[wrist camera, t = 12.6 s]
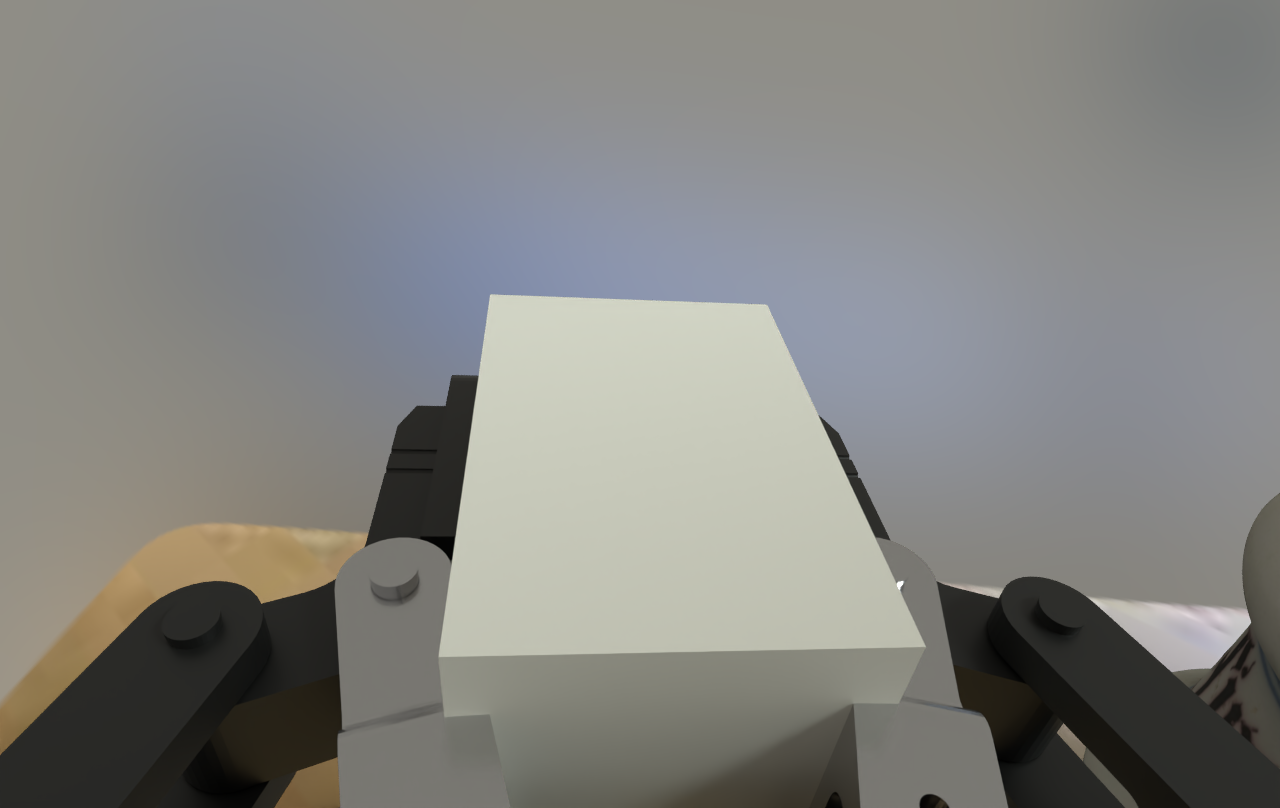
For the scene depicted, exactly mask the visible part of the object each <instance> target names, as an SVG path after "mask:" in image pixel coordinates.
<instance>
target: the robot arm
mask: <svg viewBox="0 0 1280 808" xmlns="http://www.w3.org/2000/svg"><path fill="white" fill-rule="evenodd" d="M478 377H479V376H470V375H469V376H468V375H452V377H451V381H450V387H449V391H448V396H447V401H446V406H416V407H415V409H413V411H412V412H411V413H410V414H409V415H408V416H407V417H406V418H405V419H404V420H403V421H402V422H401V423H400V424H399V425H398V427H397V431H396V434H395V438H394V442H393V445H392V452H391V454H390V457H389V460H388V464H387V467H386V473H385V475H384V479H383V482H382V486H381V490H380V493H379V497H378V501H377V504H376V508H375V512H374V515H373V519H372V523H371V527H370V530H369V534H368V538H367V541H366V545H365V547H364V548H363V549H361V550H359V551H358V552H357V553H355V554H354V555H353V556H351V557H350V558H349V559H348V560H347V561H346V562H345V564H344V565H343V566H342V567H341V569H340V571H339V573H338V575H337V578H336V579H335V580H333V581H332V582H330V583H328V584H326V585H324V586H322V587H319V588H317V589H314V590H311V591H308V592H305V593H301V594H298V595H294V596H290V597H286V598H282V599H278V600H274V601H270V602H267V603H263V604H261V602H260V601H259V599H258V597H257V596H256V595H255V594H254V593H253V592H252V591H251V590H249V589H248V588H246V587H244V586H242V585H239V584H236V583H231V582H224V581H212V582H203V583H197V584H193V585H190V586H186V587H183V588H180V589H178V590H176V591H173V592H171V593H169V594H167V595H165V596H164V597H162V598H160V599H158V600H157V601H156V602H154V603H153V604H151V605H150V606H149V607H148V608H147V609H145V610H144V611H143V612H142V613H141V614H140V615H139V616H138V617H137V618H136V619H135V620H134V621H133V622H132V623H131V624H130V625H129V626H128V627H127V628H126V629H125V630H124V631H123V632H122V633H121V634H120V635H119V636H118V637H117V638H116V639H115V640H114V641H113V642H112V643H111V644H110V645H109V646H108V647H107V648H106V649H105V650H104V651H103V652H102V653H101V654H100V655H99V656H98V657H97V658H96V659H95V660H94V661H93V662H92V663H91V664H90V665H89V666H88V667H87V668H86V669H85V670H84V671H83V672H82V673H81V674H80V675H79V676H78V677H77V678H76V679H75V680H74V681H73V682H72V683H71V684H70V685H69V686H68V687H67V688H66V689H65V690H64V691H63V692H62V693H61V694H60V696H59V697H58V698H57V699H56V700H55V701H54V702H53V703H52V704H51V705H50V706H49V707H48V708H47V709H46V710H45V711H44V712H43V713H42V714H41V715H40V716H39V717H38V718H37V719H36V720H35V721H34V722H33V723H32V724H31V725H30V726H29V727H28V728H27V729H26V730H25V731H24V732H23V733H22V734H21V735H20V736H19V737H18V738H17V739H16V740H15V741H14V742H13V743H12V744H11V745H10V746H9V747H8V748H7V749H6V750H5V751H4V752H3V753H2V754H1V755H0V808H274V807H275V805H276V804H277V802H278V801H279V799H280V797H281V796H282V794H283V793H284V791H285V790H286V788H287V786H288V785H289V783H290V782H291V780H292V779H293V777H294V775H295V773H296V772H297V771H298V770H301V769H304V768H307V767H310V766H313V765H316V764H319V763H322V762H325V761H328V760H331V759H334V758H336V757H338V771H339V790H340V808H510V803H509V799H508V794H507V790H506V785H505V781H504V776H503V772H502V767H501V763H500V758H499V754H498V749H497V745H496V740H495V736H494V731H493V727H492V722H491V718H490V714H486V715H470V716H455V717H444V708H443V698H442V688H441V678H440V668H439V658H438V656H439V649H440V642H441V635H442V628H443V621H444V614H445V607H446V600H447V593H448V586H449V580H450V573H451V566H452V559H453V552H454V545H455V538H456V531H457V524H458V517H459V510H460V503H461V496H462V489H463V482H464V475H465V468H466V461H467V454H468V447H469V440H470V433H471V426H472V419H473V412H474V405H475V398H476V391H477V384H478ZM818 416H819V415H818ZM819 418H820V420H821V422H822V424H823V427H824V429H825V431H826V433H827V435H828V437H829V439H830V442H831V444H832V446H833V448H834V450H835V452H836V455H837V457H838V459H839V461H840V463H841V465H842V467H843V470H844V472H845V474H846V476H847V478H848V480H849V483H850V485H851V487H852V489H853V491H854V493H855V495H856V498H857V500H858V502H859V504H860V506H861V508H862V510H863V513H864V515H865V517H866V519H867V521H868V523H869V526H870V528H871V530H872V532H873V534H874V536H875V538H876V541H877V543H878V545H879V547H880V549H881V551H882V554H883V556H884V558H885V560H886V562H887V564H888V566H889V569H890V571H891V573H892V575H893V577H894V579H895V581H896V584H897V586H898V588H899V590H900V592H901V594H902V597H903V599H904V601H905V603H906V605H907V607H908V609H909V612H910V614H911V616H912V618H913V620H914V622H915V625H916V627H917V629H918V631H919V633H920V635H921V637H922V640H923V642H924V644H925V646H926V648H925V650H924V652H923V654H922V656H921V658H920V660H919V662H918V665H917V667H916V669H915V671H914V673H913V675H912V677H911V679H910V681H909V683H908V685H907V687H906V689H905V692H904V694H903V696H902V698H901V700H900V702H899V704H873V703H853V706H852V708H851V710H850V713H849V715H848V718H847V720H846V722H845V725H844V727H843V729H842V732H841V734H840V736H839V739H838V741H837V743H836V746H835V748H834V751H833V753H832V755H831V758H830V760H829V762H828V765H827V767H826V769H825V772H824V774H823V776H822V779H821V781H820V784H819V786H818V788H817V791H816V793H815V795H814V798H813V800H812V802H811V805H810V807H809V808H1125V807H1124V806H1123V805H1122V804H1121V803H1120V801H1119V800H1118V799H1117V798H1116V797H1115V796H1114V795H1113V794H1112V793H1111V792H1110V791H1109V790H1108V788H1107V787H1106V786H1105V785H1104V784H1103V783H1102V782H1101V781H1100V780H1099V779H1098V778H1097V776H1096V775H1095V774H1094V773H1093V772H1092V771H1091V770H1090V769H1089V768H1088V767H1087V766H1086V764H1085V763H1084V762H1083V761H1082V760H1081V759H1080V758H1079V757H1078V756H1077V755H1076V754H1075V753H1074V751H1073V750H1072V749H1071V748H1070V747H1069V746H1068V745H1067V744H1066V743H1065V742H1064V741H1063V739H1062V738H1061V737H1060V736H1059V735H1058V734H1057V731H1058V730H1059V729H1060V727H1061V726H1062V724H1063V723H1064V724H1065V725H1066V726H1067V727H1068V728H1069V729H1070V730H1071V731H1072V732H1073V734H1074V735H1075V736H1076V737H1077V738H1078V739H1079V740H1080V741H1081V742H1082V743H1083V744H1084V745H1085V746H1086V747H1087V748H1088V750H1089V751H1090V752H1091V753H1092V754H1093V755H1094V756H1095V757H1096V758H1097V759H1098V760H1099V761H1100V762H1101V763H1102V764H1103V766H1104V767H1105V768H1106V769H1107V770H1108V771H1109V772H1110V773H1111V774H1112V775H1113V776H1114V777H1115V778H1116V779H1117V780H1118V782H1119V783H1120V784H1121V785H1122V786H1123V787H1124V788H1125V789H1126V790H1127V791H1128V792H1129V794H1130V795H1131V796H1132V798H1133V799H1134V800H1135V802H1136V804H1137V806H1138V808H1280V769H1279V768H1278V767H1277V766H1276V765H1275V764H1273V763H1272V762H1271V761H1270V760H1269V759H1268V758H1267V757H1266V756H1265V755H1263V754H1262V753H1261V752H1260V751H1259V750H1258V749H1257V748H1256V747H1254V746H1253V745H1252V744H1251V743H1250V742H1249V741H1248V740H1247V739H1246V738H1244V737H1243V736H1242V735H1241V734H1240V733H1239V732H1238V731H1237V730H1235V729H1234V728H1233V727H1232V726H1231V725H1230V724H1229V723H1228V722H1227V721H1225V720H1224V719H1223V718H1222V717H1221V716H1220V715H1219V714H1218V713H1216V712H1215V711H1214V710H1213V709H1212V708H1211V707H1210V706H1209V705H1208V704H1206V703H1205V702H1204V701H1203V700H1202V699H1201V698H1200V697H1199V696H1197V695H1196V694H1195V693H1194V692H1193V691H1192V690H1191V689H1190V688H1189V687H1187V686H1186V685H1185V684H1184V683H1183V682H1182V681H1181V680H1180V679H1178V678H1177V677H1176V676H1175V675H1174V674H1173V673H1172V672H1171V671H1170V670H1168V669H1167V668H1166V667H1165V666H1164V665H1163V664H1162V663H1161V662H1159V661H1158V660H1157V659H1156V658H1155V657H1154V656H1153V655H1152V654H1151V653H1149V652H1148V651H1147V650H1146V649H1145V648H1144V647H1143V646H1142V645H1140V644H1139V643H1138V642H1137V641H1136V640H1135V639H1134V638H1133V637H1132V636H1130V635H1129V634H1128V633H1127V632H1126V631H1125V630H1124V629H1123V628H1122V627H1120V626H1119V625H1118V624H1117V623H1116V622H1115V621H1114V620H1113V619H1111V618H1110V617H1109V616H1108V615H1107V614H1106V613H1105V612H1104V611H1103V610H1101V609H1100V608H1099V607H1098V606H1097V605H1096V604H1095V603H1093V602H1092V601H1091V600H1090V599H1089V598H1087V597H1086V596H1084V595H1083V594H1081V593H1080V592H1078V591H1077V590H1075V589H1073V588H1071V587H1069V586H1067V585H1065V584H1062V583H1060V582H1057V581H1054V580H1051V579H1046V578H1041V577H1022V578H1018V579H1015V580H1013V581H1011V582H1010V583H1009V584H1007V585H1006V587H1005V588H1004V590H1003V592H1002V593H1001V595H1000V597H999V599H998V598H994V597H990V596H986V595H982V594H978V593H974V592H970V591H966V590H962V589H958V588H954V587H951V586H948V585H944V584H942V583H939V582H937V581H936V579H935V576H934V575H933V573H932V571H931V569H930V568H929V567H928V565H927V564H926V563H925V562H924V561H923V560H922V559H921V558H920V557H919V556H918V555H916V554H915V553H914V552H912V551H911V550H909V549H908V548H906V547H904V546H902V545H900V544H898V543H895V542H892V541H891V540H890V539H889V536H888V534H887V532H886V530H885V528H884V526H883V524H882V522H881V520H880V518H879V516H878V514H877V511H876V509H875V507H874V505H873V504H872V501H871V499H870V497H869V495H868V493H867V491H866V489H865V487H864V485H863V483H862V480H861V479H860V478H858V472H857V470H856V468H855V466H854V464H853V462H852V460H849V454H848V452H847V449H846V447H845V445H844V443H843V441H842V439H841V437H840V435H839V433H838V432H837V431H835V430H834V429H833V428H832V427H831V426H830V425H829V424H828V423H827V422H826V421H825V420H823V419H822V418H821V417H820V416H819Z"/></svg>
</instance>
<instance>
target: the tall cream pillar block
mask: <svg viewBox="0 0 1280 808" xmlns="http://www.w3.org/2000/svg"><path fill="white" fill-rule="evenodd" d="M925 648H926V646H925V644H924V642H923V640H922V637H921V635H920V633H919V631H918V629H917V627H916V625H915V622H914V620H913V618H912V616H911V614H910V612H909V609H908V607H907V605H906V603H905V601H904V599H903V597H902V594H901V592H900V590H899V588H898V586H897V584H896V581H895V579H894V577H893V575H892V573H891V571H890V569H889V566H888V564H887V562H886V560H885V558H884V556H883V554H882V551H881V549H880V547H879V545H878V543H877V541H876V538H875V536H874V534H873V532H872V530H871V528H870V526H869V523H868V521H867V519H866V517H865V515H864V513H863V510H862V508H861V506H860V504H859V502H858V500H857V498H856V495H855V493H854V491H853V489H852V487H851V485H850V483H849V480H848V478H847V476H846V474H845V472H844V470H843V467H842V465H841V463H840V461H839V459H838V457H837V455H836V452H835V450H834V448H833V446H832V444H831V442H830V439H829V437H828V435H827V433H826V431H825V429H824V427H823V424H822V422H821V420H820V418H819V416H818V414H817V411H816V409H815V407H814V405H813V403H812V401H811V399H810V396H809V394H808V392H807V390H806V388H805V386H804V384H803V381H802V379H801V377H800V375H799V373H798V371H797V368H796V366H795V364H794V362H793V360H792V358H791V356H790V353H789V351H788V349H787V347H786V345H785V343H784V341H783V338H782V336H781V334H780V332H779V330H778V328H777V325H776V323H775V321H774V319H773V317H772V315H771V313H770V310H769V308H768V306H767V305H758V304H731V303H705V302H677V301H651V300H623V299H597V298H596V299H595V298H570V297H569V298H568V297H543V296H516V295H490V301H489V308H488V315H487V322H486V329H485V336H484V343H483V350H482V357H481V364H480V370H479V377H478V384H477V391H476V398H475V405H474V412H473V419H472V426H471V433H470V440H469V447H468V454H467V461H466V468H465V475H464V482H463V489H462V496H461V503H460V510H459V517H458V524H457V531H456V538H455V545H454V552H453V559H452V566H451V573H450V580H449V586H448V593H447V600H446V607H445V614H444V621H443V628H442V635H441V642H440V649H439V656H438V658H439V668H440V678H441V688H442V698H443V708H444V717H455V716H470V715H486V714H490V718H491V722H492V727H493V731H494V736H495V740H496V745H497V749H498V754H499V758H500V763H501V767H502V772H503V776H504V781H505V785H506V790H507V794H508V799H509V803H510V808H809V807H810V805H811V802H812V800H813V798H814V795H815V793H816V791H817V788H818V786H819V784H820V781H821V779H822V776H823V774H824V772H825V769H826V767H827V765H828V762H829V760H830V758H831V755H832V753H833V751H834V748H835V746H836V743H837V741H838V739H839V736H840V734H841V732H842V729H843V727H844V725H845V722H846V720H847V718H848V715H849V713H850V710H851V708H852V706H853V703H873V704H899V702H900V700H901V698H902V696H903V694H904V692H905V689H906V687H907V685H908V683H909V681H910V679H911V677H912V675H913V673H914V671H915V669H916V667H917V665H918V662H919V660H920V658H921V656H922V654H923V652H924V650H925Z"/></svg>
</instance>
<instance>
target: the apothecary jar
mask: <svg viewBox="0 0 1280 808" xmlns="http://www.w3.org/2000/svg"><path fill="white" fill-rule="evenodd" d="M1242 575H1243V589H1244V595H1245V601H1246V605H1247V609H1248V613H1249V616H1250V620H1251V624H1250V625H1249V627H1248V628H1247V629H1246V630H1245V631H1244V632H1243V634H1242V635H1241V636H1240V637H1239V638H1238V640H1237V641H1236V642H1235V643H1234V644H1233V645H1232V646H1231V647H1230V648H1229V649H1228V650H1227V651H1226V652H1225V654H1224V655H1223V656H1222V657H1221V659H1220V660H1219V661H1218V662H1217V663H1216V664H1215V665H1214V666H1213V667H1212V668H1211V669H1191V670H1184V671H1177V672H1172V673H1173V674H1174V675H1175V676H1176V677H1177V678H1178V679H1180V680H1181V681H1182V682H1183V683H1184V684H1185V685H1186V686H1187V687H1189V688H1190V689H1191V690H1192V691H1193V692H1194V693H1195V694H1196V695H1197V696H1199V697H1200V698H1201V699H1202V700H1203V701H1204V702H1205V703H1206V704H1208V705H1209V706H1210V707H1211V708H1212V709H1213V710H1214V711H1215V712H1216V713H1218V714H1219V715H1220V716H1221V717H1222V718H1223V719H1224V720H1225V721H1227V722H1228V723H1229V724H1230V725H1231V726H1232V727H1233V728H1234V729H1235V730H1237V731H1238V732H1239V733H1240V734H1241V735H1242V736H1243V737H1244V738H1246V739H1247V740H1248V741H1249V742H1250V743H1251V744H1252V745H1253V746H1254V747H1256V748H1257V749H1258V750H1259V751H1260V752H1261V753H1262V754H1263V755H1265V756H1266V757H1267V758H1268V759H1269V760H1270V761H1271V762H1272V763H1273V764H1275V765H1276V766H1277V767H1278V768H1279V769H1280V493H1279V494H1278V495H1277V496H1275V497H1274V498H1273V499H1272V500H1271V501H1270V502H1269V503H1268V504H1266V506H1265V507H1264V508H1263V509H1262V510H1261V512H1260V513H1259V514H1258V516H1257V518H1256V520H1255V521H1254V523H1253V525H1252V527H1251V530H1250V532H1249V534H1248V537H1247V540H1246V544H1245V549H1244V555H1243V570H1242ZM1083 762H1084V763H1085V764H1086V766H1087V767H1088V768H1089V769H1090V770H1091V771H1092V772H1093V773H1094V774H1095V775H1096V776H1097V778H1098V779H1099V780H1100V781H1101V782H1102V783H1103V784H1104V785H1105V786H1106V787H1107V788H1108V790H1109V791H1110V792H1111V793H1112V794H1113V795H1114V796H1115V797H1116V798H1117V799H1118V800H1119V801H1120V803H1121V804H1122V805H1123V806H1124V807H1125V808H1138V806H1137V804H1136V802H1135V800H1134V799H1133V798H1132V796H1131V795H1130V794H1129V792H1128V791H1127V790H1126V789H1125V788H1124V787H1123V786H1122V785H1121V784H1120V783H1119V782H1118V780H1117V779H1116V778H1115V777H1114V776H1113V775H1112V774H1111V773H1110V772H1109V771H1108V770H1107V769H1106V768H1105V767H1104V766H1103V764H1102V763H1101V762H1100V761H1099V760H1098V759H1097V758H1096V757H1095V756H1094V755H1093V754H1092V753H1091V752H1090V751H1089V750H1088V748H1087V747H1086V751H1085V755H1084V760H1083Z"/></svg>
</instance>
